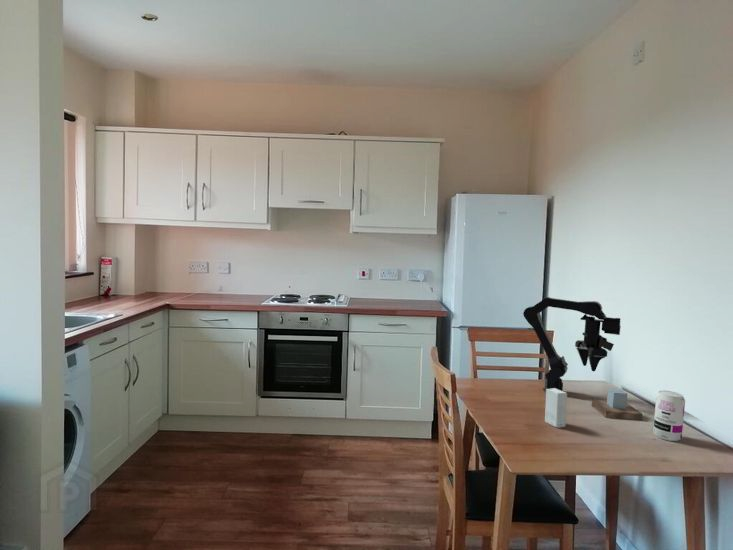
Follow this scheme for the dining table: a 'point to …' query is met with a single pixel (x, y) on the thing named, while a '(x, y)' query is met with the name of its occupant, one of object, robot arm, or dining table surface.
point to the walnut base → (616, 411)
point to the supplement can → (669, 415)
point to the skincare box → (556, 407)
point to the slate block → (617, 398)
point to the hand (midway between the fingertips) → (588, 368)
